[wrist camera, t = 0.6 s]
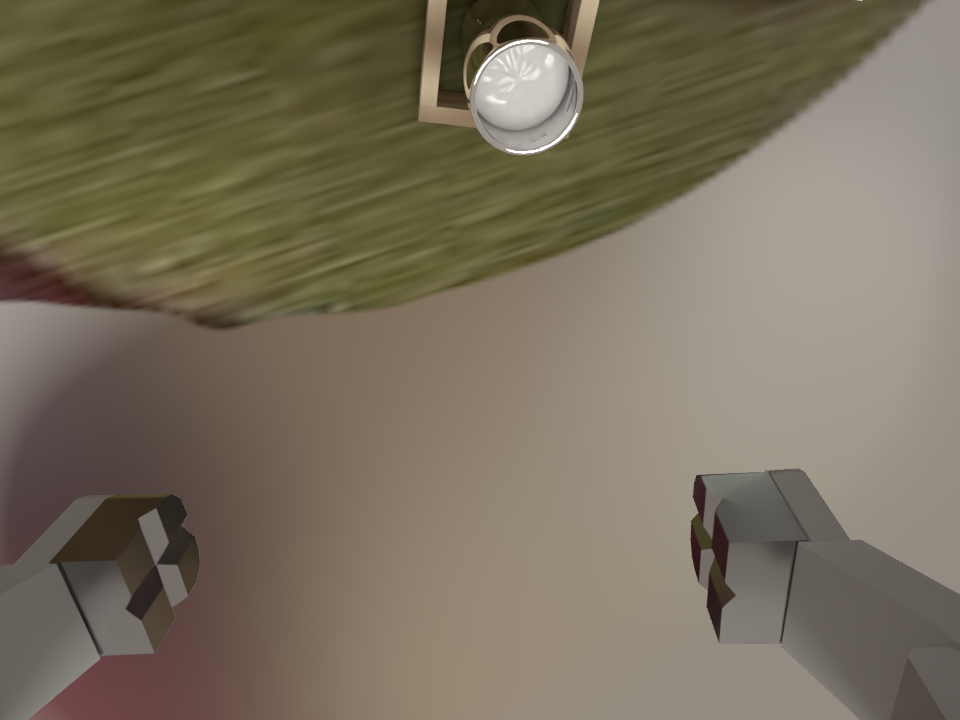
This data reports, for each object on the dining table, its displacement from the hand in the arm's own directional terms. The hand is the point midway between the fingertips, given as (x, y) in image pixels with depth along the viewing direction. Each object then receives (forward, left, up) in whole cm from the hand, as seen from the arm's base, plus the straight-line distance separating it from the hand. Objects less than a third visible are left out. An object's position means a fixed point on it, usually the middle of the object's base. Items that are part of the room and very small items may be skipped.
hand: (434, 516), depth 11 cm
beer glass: (+3, +6, -47) cm, 48 cm away
